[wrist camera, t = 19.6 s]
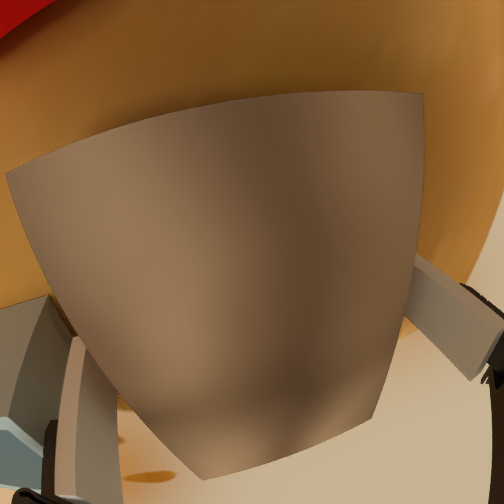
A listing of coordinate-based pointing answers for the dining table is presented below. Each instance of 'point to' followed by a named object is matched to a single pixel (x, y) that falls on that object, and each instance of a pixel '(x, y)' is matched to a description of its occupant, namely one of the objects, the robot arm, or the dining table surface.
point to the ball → (18, 12)
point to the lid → (237, 264)
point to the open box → (29, 387)
